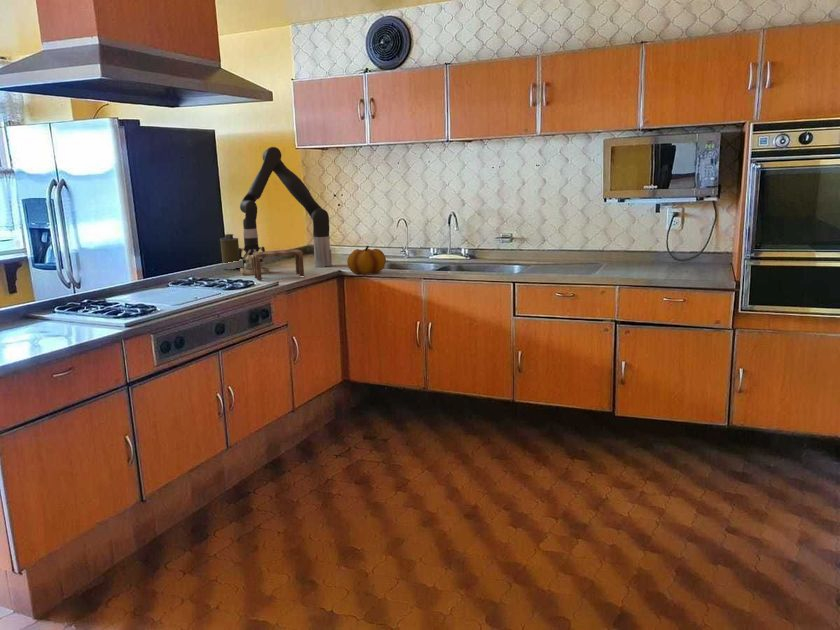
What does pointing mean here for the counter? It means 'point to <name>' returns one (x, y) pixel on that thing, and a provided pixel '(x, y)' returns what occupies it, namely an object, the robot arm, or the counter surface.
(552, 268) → the counter surface
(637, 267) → the counter surface
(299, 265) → the wooden rack
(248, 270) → the tray
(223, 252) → the canister
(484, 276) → the counter surface
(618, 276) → the counter surface
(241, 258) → the robot arm
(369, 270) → the decorative pumpkin
